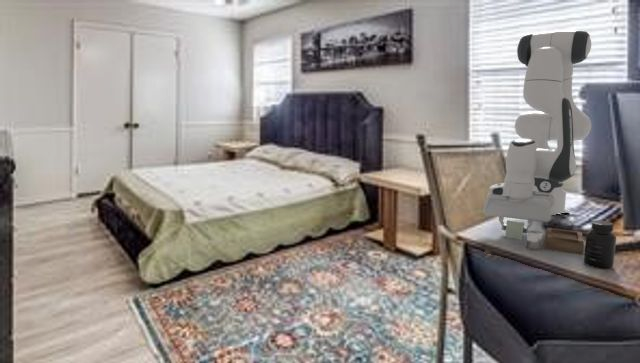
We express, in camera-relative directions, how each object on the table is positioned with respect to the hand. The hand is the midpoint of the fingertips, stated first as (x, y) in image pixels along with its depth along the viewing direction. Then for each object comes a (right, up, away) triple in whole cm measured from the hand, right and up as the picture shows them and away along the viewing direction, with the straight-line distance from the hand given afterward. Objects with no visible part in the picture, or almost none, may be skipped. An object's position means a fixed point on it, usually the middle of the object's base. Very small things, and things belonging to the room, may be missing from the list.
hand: (514, 231), depth 143 cm
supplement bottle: (+12, -7, -23) cm, 27 cm away
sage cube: (0, -2, 0) cm, 2 cm away
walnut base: (+11, -4, -9) cm, 15 cm away
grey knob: (+1, -4, -11) cm, 12 cm away
